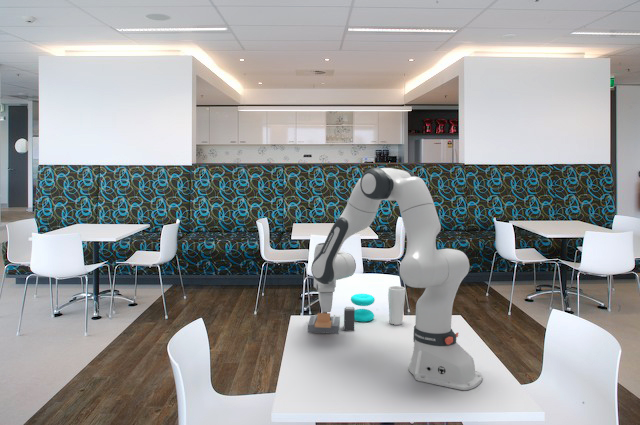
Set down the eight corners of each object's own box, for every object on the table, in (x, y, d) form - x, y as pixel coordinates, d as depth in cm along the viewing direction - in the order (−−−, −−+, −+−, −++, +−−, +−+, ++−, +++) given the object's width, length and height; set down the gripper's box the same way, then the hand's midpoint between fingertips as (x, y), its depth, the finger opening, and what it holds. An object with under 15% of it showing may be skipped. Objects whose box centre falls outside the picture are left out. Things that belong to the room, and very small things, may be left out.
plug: (354, 327, 201) (354, 306, 200) (354, 330, 197) (354, 309, 196) (344, 327, 201) (344, 306, 200) (344, 330, 197) (344, 309, 196)
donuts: (379, 295, 212) (365, 300, 204) (378, 318, 213) (365, 324, 205) (360, 291, 218) (346, 296, 211) (359, 314, 219) (345, 319, 212)
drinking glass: (405, 322, 208) (407, 287, 207) (401, 326, 202) (402, 290, 201) (390, 319, 211) (391, 285, 210) (385, 324, 205) (386, 288, 204)
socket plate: (339, 323, 205) (339, 315, 205) (338, 333, 193) (338, 324, 193) (310, 322, 206) (310, 314, 206) (307, 332, 194) (307, 323, 194)
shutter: (331, 322, 197) (331, 313, 196) (330, 327, 191) (330, 318, 190) (316, 322, 197) (316, 312, 197) (314, 327, 191) (314, 317, 191)
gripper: (315, 276, 207) (315, 309, 209) (318, 288, 187) (317, 324, 188) (330, 276, 208) (330, 309, 209) (335, 288, 187) (334, 324, 189)
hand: (324, 316), depth 199 cm, fingers closed
